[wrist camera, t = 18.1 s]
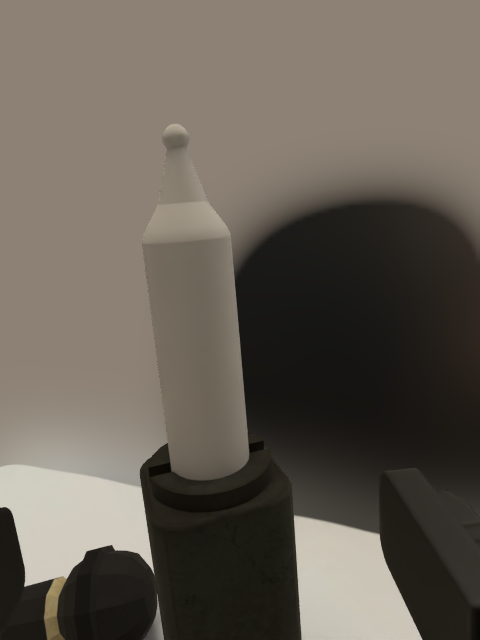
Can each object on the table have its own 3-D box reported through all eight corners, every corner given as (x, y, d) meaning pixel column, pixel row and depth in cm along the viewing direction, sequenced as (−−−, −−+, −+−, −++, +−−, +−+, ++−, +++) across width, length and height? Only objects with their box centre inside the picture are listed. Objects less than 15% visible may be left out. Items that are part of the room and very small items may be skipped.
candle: (172, 698, 22) (89, 141, 16) (271, 660, 23) (228, 136, 17) (195, 832, 17) (89, 105, 11) (319, 773, 18) (281, 103, 13)
